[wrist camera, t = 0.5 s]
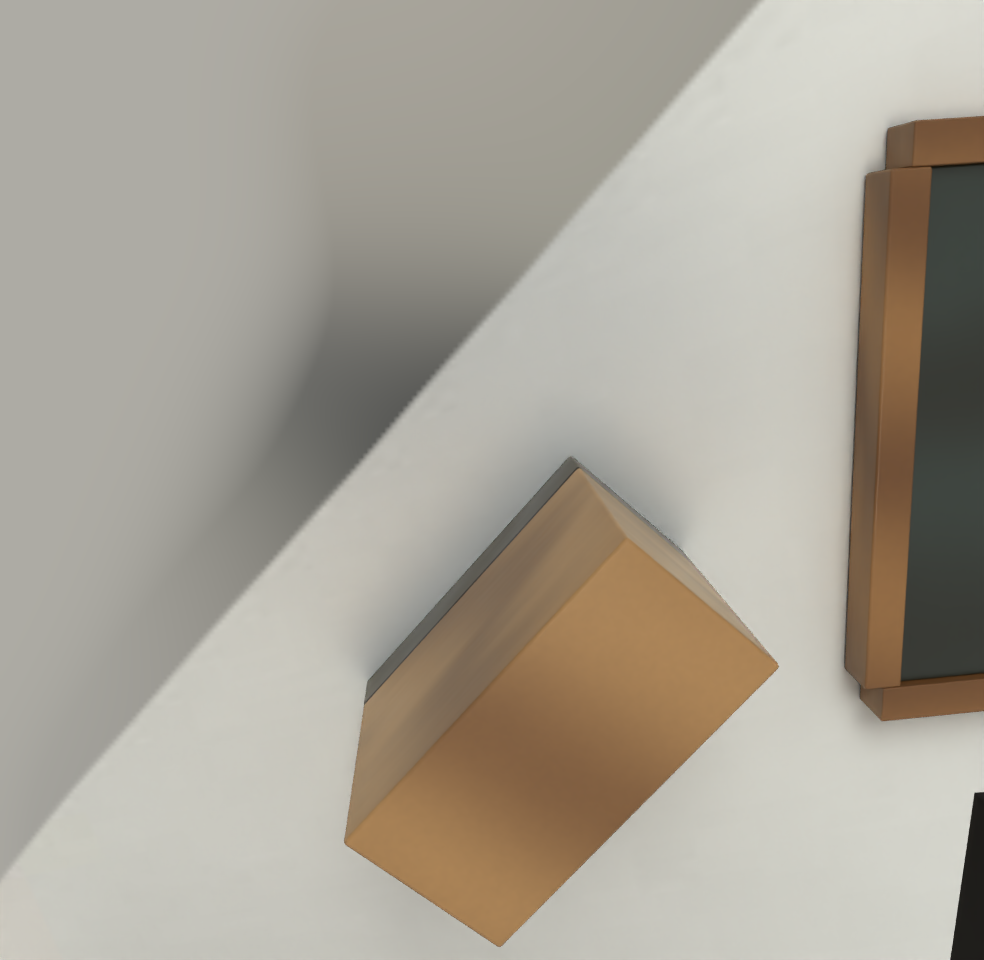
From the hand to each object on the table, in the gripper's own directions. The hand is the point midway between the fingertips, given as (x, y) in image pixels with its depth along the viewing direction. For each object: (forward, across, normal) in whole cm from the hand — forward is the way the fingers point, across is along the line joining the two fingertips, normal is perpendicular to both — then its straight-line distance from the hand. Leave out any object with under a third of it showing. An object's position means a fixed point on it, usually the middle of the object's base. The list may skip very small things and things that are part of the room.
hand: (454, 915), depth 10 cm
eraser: (+17, +3, -4) cm, 17 cm away
